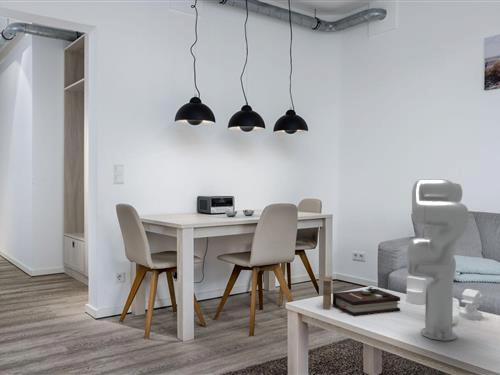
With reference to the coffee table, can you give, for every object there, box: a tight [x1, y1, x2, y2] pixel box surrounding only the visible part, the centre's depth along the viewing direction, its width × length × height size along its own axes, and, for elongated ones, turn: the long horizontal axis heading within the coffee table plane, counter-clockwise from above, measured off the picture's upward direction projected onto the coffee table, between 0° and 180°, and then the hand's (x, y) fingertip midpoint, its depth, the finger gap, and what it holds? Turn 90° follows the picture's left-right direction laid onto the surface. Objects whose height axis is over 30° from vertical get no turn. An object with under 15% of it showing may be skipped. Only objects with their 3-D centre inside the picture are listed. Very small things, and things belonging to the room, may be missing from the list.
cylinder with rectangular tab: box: [406, 275, 427, 306], centre depth 218 cm, size 9×9×12 cm
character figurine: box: [459, 288, 484, 321], centre depth 193 cm, size 9×10×12 cm
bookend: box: [322, 275, 333, 310], centre depth 208 cm, size 11×3×13 cm, turn 166°
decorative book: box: [332, 286, 401, 317], centre depth 205 cm, size 19×8×30 cm
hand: (435, 256), depth 189 cm, fingers closed
